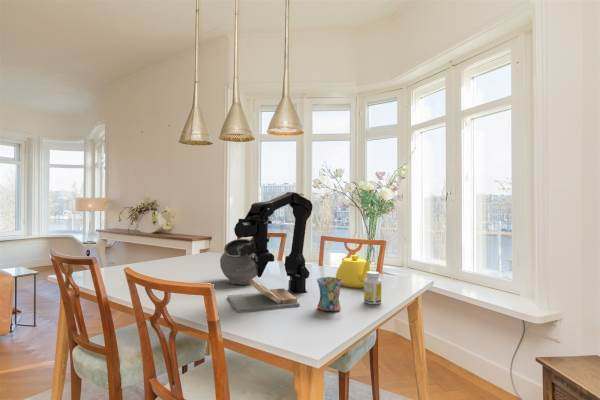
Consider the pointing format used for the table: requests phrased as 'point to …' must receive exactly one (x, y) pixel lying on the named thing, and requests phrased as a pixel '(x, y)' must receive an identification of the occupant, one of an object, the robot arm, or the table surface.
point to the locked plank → (284, 296)
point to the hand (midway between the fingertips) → (259, 277)
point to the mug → (329, 293)
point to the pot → (237, 263)
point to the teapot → (353, 271)
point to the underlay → (256, 302)
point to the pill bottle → (372, 288)
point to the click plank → (265, 291)
